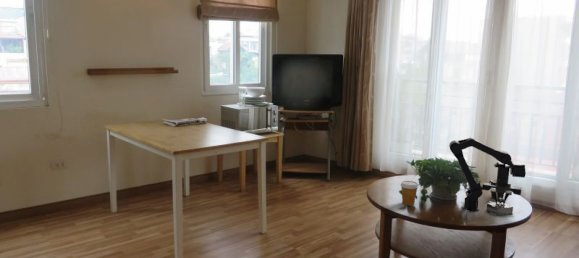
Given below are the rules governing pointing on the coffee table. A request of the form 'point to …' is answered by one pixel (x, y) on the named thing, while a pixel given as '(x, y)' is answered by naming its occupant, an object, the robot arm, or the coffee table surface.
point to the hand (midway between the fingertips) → (500, 204)
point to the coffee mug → (499, 194)
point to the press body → (499, 208)
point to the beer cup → (409, 192)
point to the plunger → (500, 200)
